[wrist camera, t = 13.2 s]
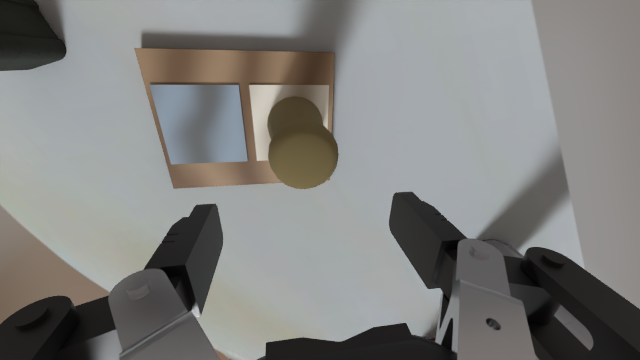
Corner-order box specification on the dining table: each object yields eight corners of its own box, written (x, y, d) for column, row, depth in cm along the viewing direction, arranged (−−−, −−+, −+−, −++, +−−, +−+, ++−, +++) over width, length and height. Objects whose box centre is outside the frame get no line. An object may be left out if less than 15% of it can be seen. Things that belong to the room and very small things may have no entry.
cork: (264, 96, 25) (255, 120, 15) (323, 95, 26) (351, 117, 16) (269, 153, 27) (265, 204, 18) (322, 150, 28) (346, 198, 18)
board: (332, 52, 25) (334, 52, 24) (328, 175, 31) (330, 180, 30) (141, 48, 23) (133, 47, 21) (177, 183, 29) (172, 189, 27)
